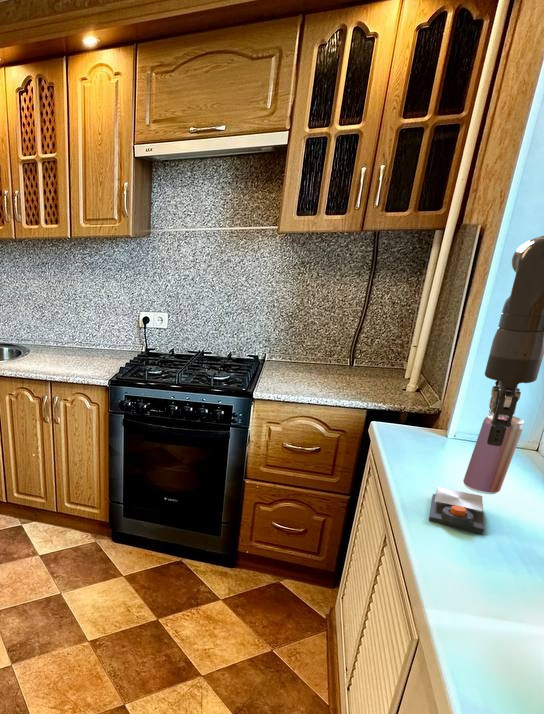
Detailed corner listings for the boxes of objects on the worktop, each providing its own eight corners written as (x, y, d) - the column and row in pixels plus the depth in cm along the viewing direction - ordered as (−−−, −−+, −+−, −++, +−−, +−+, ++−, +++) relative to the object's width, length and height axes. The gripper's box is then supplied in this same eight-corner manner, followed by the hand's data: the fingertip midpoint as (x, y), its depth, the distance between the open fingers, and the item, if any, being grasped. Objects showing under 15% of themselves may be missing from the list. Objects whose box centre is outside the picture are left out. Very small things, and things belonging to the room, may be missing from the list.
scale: (431, 498, 132) (434, 487, 131) (481, 508, 127) (484, 497, 126) (428, 523, 121) (430, 512, 120) (482, 536, 116) (485, 524, 115)
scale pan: (436, 488, 131) (437, 486, 131) (481, 497, 126) (482, 495, 126) (434, 502, 124) (435, 500, 124) (482, 512, 119) (482, 511, 119)
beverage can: (470, 493, 103) (495, 422, 97) (456, 479, 108) (479, 411, 103) (505, 497, 102) (532, 425, 96) (489, 483, 107) (514, 414, 101)
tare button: (450, 510, 121) (451, 504, 121) (465, 513, 120) (466, 507, 119) (449, 515, 119) (451, 509, 119) (465, 518, 118) (466, 512, 117)
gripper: (548, 363, 88) (521, 455, 94) (538, 348, 99) (515, 432, 105) (491, 359, 92) (469, 447, 98) (488, 345, 103) (468, 425, 109)
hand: (493, 439), depth 101 cm, fingers closed on beverage can, 6 cm apart
